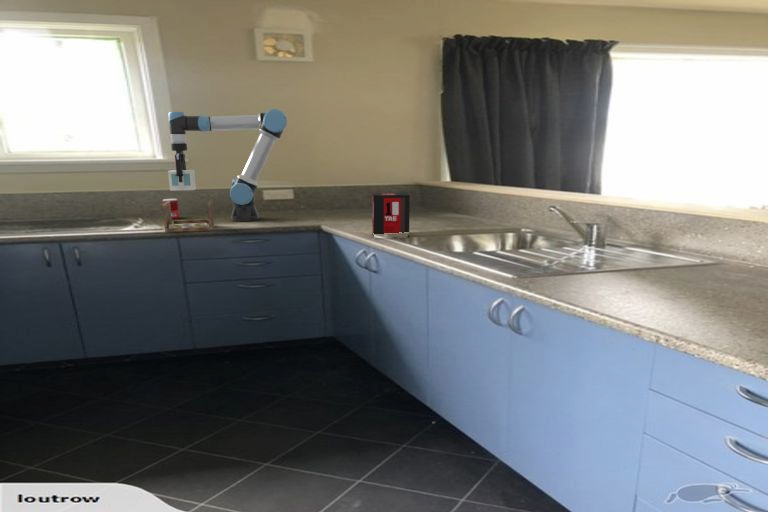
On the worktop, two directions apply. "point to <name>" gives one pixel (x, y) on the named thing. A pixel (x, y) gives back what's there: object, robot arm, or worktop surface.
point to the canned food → (173, 207)
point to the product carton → (188, 180)
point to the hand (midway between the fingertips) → (183, 187)
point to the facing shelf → (187, 224)
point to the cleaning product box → (390, 212)
